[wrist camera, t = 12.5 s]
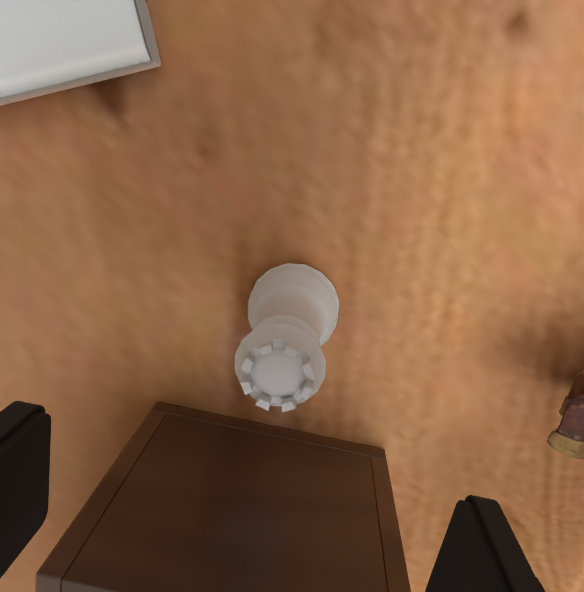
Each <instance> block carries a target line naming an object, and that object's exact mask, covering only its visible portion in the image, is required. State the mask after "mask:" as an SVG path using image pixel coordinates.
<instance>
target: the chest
mask: <svg viewBox="0 0 584 592" xmlns="http://www.w3.org/2000/svg"><path fill="white" fill-rule="evenodd" d="M36 592H411V590H410V584H409V579H408V574H407V568H406V563H405V557H404V552H403V547H402V541H401V536H400V530H399V525H398V520H397V514H396V509H395V503H394V498H393V493H392V487H391V482H390V476H389V471H388V466H387V460H386V455H385V450H384V449H380V448H375V447H370V446H366V445H361V444H356V443H351V442H347V441H342V440H337V439H332V438H327V437H323V436H318V435H313V434H308V433H304V432H299V431H294V430H289V429H285V428H280V427H275V426H270V425H265V424H261V423H256V422H251V421H246V420H242V419H237V418H232V417H227V416H222V415H218V414H213V413H208V412H203V411H199V410H194V409H189V408H184V407H179V406H175V405H170V404H165V403H160V402H156V404H155V405H154V407H153V408H152V410H151V411H150V412H149V414H148V415H147V417H146V418H145V419H144V421H143V422H142V424H141V425H140V427H139V428H138V429H137V431H136V432H135V434H134V435H133V436H132V438H131V439H130V441H129V442H128V444H127V445H126V446H125V448H124V449H123V451H122V452H121V454H120V455H119V456H118V458H117V459H116V461H115V462H114V464H113V465H112V466H111V468H110V469H109V471H108V472H107V473H106V475H105V476H104V478H103V479H102V481H101V482H100V483H99V485H98V486H97V488H96V489H95V491H94V492H93V493H92V495H91V496H90V498H89V499H88V501H87V502H86V503H85V505H84V506H83V508H82V509H81V510H80V512H79V513H78V515H77V516H76V518H75V519H74V520H73V522H72V523H71V525H70V526H69V528H68V529H67V530H66V532H65V533H64V535H63V536H62V538H61V539H60V540H59V542H58V543H57V545H56V546H55V547H54V549H53V550H52V552H51V553H50V555H49V556H48V557H47V559H46V560H45V562H44V563H43V565H42V566H41V567H40V569H39V570H38V572H37V573H36Z"/></svg>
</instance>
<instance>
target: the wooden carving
mask: <svg viewBox="0 0 584 592" xmlns="http://www.w3.org/2000/svg"><path fill="white" fill-rule="evenodd" d="M559 413H560V414H561V415H562V419H561V423H560V425H559V427H558V428H557V429H555V430H553V431H552V432H551V434H550V435H549V437H548V439H547V443H548V444H549V445H550V446H552V447H553V448H554V449H556V450H557V451H559V452H561V453H563V454H565V455H567V456H569V457H573V458H578V459H584V368H583V369H582V370H581V371H580V372H579V373H578V374H577V375H575V377H574V380H573V383H572V386H571V389H570V392H569V394H568V396H566V397H565V399H564V402H563V405H562V407H561V409H560V410H559Z"/></svg>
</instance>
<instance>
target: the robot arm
mask: <svg viewBox="0 0 584 592" xmlns="http://www.w3.org/2000/svg"><path fill="white" fill-rule="evenodd" d="M50 438H51V416H50V415H49V414H46V413H45V409H44V407H43V406H41V405H36V404H31V403H26V402H22V401H15V402H13V403H11V404H10V405H9V406H7V407H6V408H5V409H3V410H2V411H1V412H0V578H1V577H2V576H3V574H4V573H5V572H6V571H7V569H8V568H9V567H10V565H11V564H12V563H13V562H14V560H15V559H16V558H17V556H18V555H19V554H20V553H21V551H22V550H23V549H24V548H25V546H26V545H27V544H28V542H29V541H30V540H31V539H32V537H33V536H34V535H35V534H36V532H37V531H38V530H39V528H40V527H41V526H42V524H43V522H44V520H45V518H46V515H47V512H48V497H49V467H50ZM425 592H545V590H544V588H543V586H542V585H541V583H540V582H539V580H538V579H537V577H535V575H534V573H533V571H532V569H531V567H530V565H529V563H528V561H527V559H526V557H525V555H524V553H523V551H522V549H521V547H520V545H519V543H518V541H517V539H516V537H515V535H514V533H513V531H512V529H511V527H510V525H509V523H508V521H507V519H506V517H505V515H504V513H503V511H502V509H501V507H500V505H499V504H498V502H497V501H495V500H492V499H487V498H482V497H478V496H473V495H468V496H467V497H466V499H465V501H463V500H459V501H458V502H457V504H456V507H455V509H454V512H453V515H452V518H451V521H450V523H449V526H448V529H447V532H446V534H445V537H444V540H443V543H442V546H441V548H440V551H439V554H438V557H437V559H436V562H435V565H434V568H433V571H432V573H431V576H430V579H429V582H428V584H427V587H426V591H425Z"/></svg>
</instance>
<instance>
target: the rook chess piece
mask: <svg viewBox="0 0 584 592" xmlns="http://www.w3.org/2000/svg"><path fill="white" fill-rule="evenodd" d="M338 311H339V300H338V297H337V294H336V291H335V288H334V286H333V284H332V283H331V282H330V281H329V280H328V279H327V278H326V277H325V275H324V274H323V273H322V272H320V271H318V270H316V269H314V268H312V267H310V266H308V265H305V264H292V263H286V264H283V265H280V266H277V267H274V268H271V269H269V270H268V271H267V272H266V273H265V274H264V275H262V276H261V277H260V278H259V279H258V280H257V281H256V283H255V286H254V288H253V290H252V292H251V294H250V299H249V301H248V321H249V323H250V326H251V328H252V332H250V333H249V334H248V335H247V336H246V337H245V338H243V339H242V341H241V343H240V345H239V347H238V349H237V351H236V353H235V372H236V375H237V377H238V380H239V382H240V384H241V386H242V388H243V391H244V393H245V395H247V394H248V393H249V394H250V395H251V396H252V397H253V398H254V399H256V400H257V401H256V404H255V405H256V406H258V407H261V408H263V409H265V410H267V411H268V410H269V406H280V407H282V412H285V411H289V410H293V409H296V406H297V404H300V403H303V402H305V401H306V400H307V399H309V398H310V397H311V396H313V395H314V394H315V393H317V391H318V389H319V387H320V386H321V384H322V382H323V380H324V379H325V368H326V360H325V357H324V355H323V352H322V349H321V346H322V345H323V344H324V343H326V342H327V341H328V340H329V338H330V336H331V334H332V333H333V331H334V329H335V327H336V325H337V320H338Z"/></svg>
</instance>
